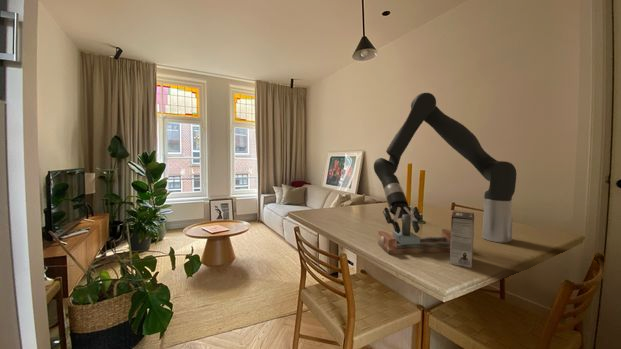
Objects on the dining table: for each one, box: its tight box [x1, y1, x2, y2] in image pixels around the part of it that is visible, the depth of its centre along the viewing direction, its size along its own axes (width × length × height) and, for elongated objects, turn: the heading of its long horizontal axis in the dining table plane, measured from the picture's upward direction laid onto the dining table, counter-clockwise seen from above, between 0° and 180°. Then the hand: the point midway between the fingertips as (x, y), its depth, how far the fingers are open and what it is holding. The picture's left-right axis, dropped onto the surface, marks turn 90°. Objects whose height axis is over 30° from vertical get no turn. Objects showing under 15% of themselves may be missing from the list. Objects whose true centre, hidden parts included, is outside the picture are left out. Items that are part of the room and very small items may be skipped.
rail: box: [377, 228, 451, 255], centre depth 95 cm, size 31×10×6 cm, turn 96°
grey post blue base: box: [392, 214, 421, 245], centre depth 94 cm, size 7×8×10 cm
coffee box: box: [449, 211, 475, 269], centre depth 83 cm, size 9×6×16 cm
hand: (408, 232), depth 93 cm, fingers open, 6 cm apart
